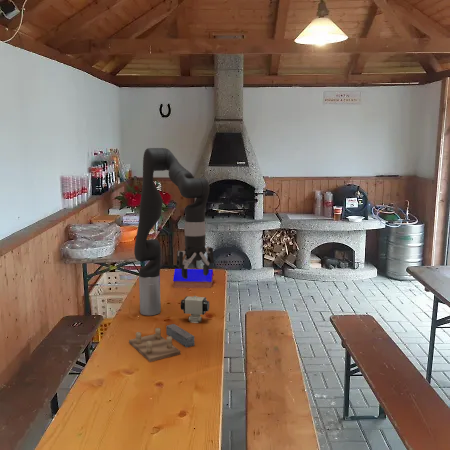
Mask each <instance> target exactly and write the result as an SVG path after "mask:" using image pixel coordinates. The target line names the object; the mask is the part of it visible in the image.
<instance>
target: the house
mask: <svg viewBox="0 0 450 450" xmlns="http://www.w3.org/2000/svg"><path fill="white" fill-rule="evenodd" d="M186 269H187V279H184V278H183V277H182V268H174V272H173V278H172V281H173V288H177V289H178V288H179V289H181V288H182V289H183V288H185V289H187V288H188V289H212V286H213V283H214V275H215V274H214V270H213V269H211V268H209V273H208V275H204V274H203V268H200V269H199V268H186Z"/></svg>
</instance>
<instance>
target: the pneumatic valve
mask: <svg viewBox="0 0 450 450" xmlns="http://www.w3.org/2000/svg"><path fill="white" fill-rule="evenodd" d="M180 310H182V311H183V314H186V315H188V314H189V316H188V321H189V322H190V323H191V324H192V323H193V324H199V323H202V320H203V318H202V317H203V316H205V314H206V313H207V312H209V311H210V301H209V300H207V297H205V296H202V297H201V296H197V295H193V296H185V297H184V298H183V299H181V300H180ZM201 315H202V316H201Z"/></svg>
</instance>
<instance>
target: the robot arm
mask: <svg viewBox="0 0 450 450" xmlns="http://www.w3.org/2000/svg"><path fill="white" fill-rule="evenodd" d="M142 158H143V160H142V187H141V194H140V195H141V196H140V204H139V216H138V225H137V232H136V237H135V241H134V249H133V250H134V257H135V259H136V261H138V262H148V261H149V262H148V263H146V264H145V265H144V266H142V267H141V268H140V269H138V283H139V284H138V286H139V314H141V315H142V316H155V315H159V314H160V313H161V312H162V309H161V306H162V305H161V262H162V260H161V258H162V250H161V248H162V247H161V243H160V241H159V240H158V239H156V238H155V239H154V238H153V239H152V238H151V239H150V238H149V239H148V237H149V234H150V232H151V230H152V229H153V228H154V226H155V225H156V224H157V223H158V222H159V220H160V218H161V216H162V212H163V211H162V210H163V198H162V195H161V193H160V191H159V190H158V188H157V186H156V184H155V180H154V172H160V171H161V172H163V171H168V177H169V179H170V182H172V183H173V185H175V186H176V187H177V188H178V191H179V193H180V195H181V196H182V197H184V198H185V199H195V201H194V202H192V203H191V204H188V205H186V206H185V209H184V210H185V211H184V212H185V213H184V214H185V215H184V217H185V218H184V220H185V224H184V248H185V249H184V250H177V251H176V262H175V263H176V264H175V265H176V267H177V268H178V269H182V277H183V278H184V279H187V269H188V268H189V265H190V264H191V263H192V262H197V261H198V262H199V261H201V262H202V269H203V274H204V275H208V273H209V269H210V265H211V264H214V248H213V247H211V246H207V247H206V222H205V221H206V219H205V216H206V215H205V214H206V213H205V210H206V207H207V206H206V205H207V202H208V198H209V195H210V190H211V189H210V184H209V181H208V180H207V179H206V178H203V177H196V178H195V177H194V174H192V173H191V172H190V171H189V170H188V169H186V168H185V167H184V165H182V164H181V163H180V162H179V160H178V159H177V157H176V156H175V155H174V153H173V152H172V151H171V150H170V149H168V148H166V147H147V148H146V149H145V150H144V153H143V157H142ZM205 254H206V256H207V257H206V256H205Z"/></svg>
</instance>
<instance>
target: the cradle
mask: <svg viewBox="0 0 450 450" xmlns="http://www.w3.org/2000/svg"><path fill="white" fill-rule="evenodd" d="M154 331H155V333H154V334H150V335H149V334H148V335H145V336H142V332H140V331H137V332H135V338H132V339H128V343H129V345H131V346H132V348H134V349H135V350H136V351H137V352H139V353H140V354H141V355H142V356H143V357H144V358H145V359H146V360H147V361H148V362H150V363H151V362H155V361H159V360H163V359H167V358H170V357H171V358H172V357H175V356H179V355H181V350H180V349H179V348H178V347H176V346H174V345H173V338H172V337H171V336H168V335H167V336H166V339H165V337H163V336H162V335H161V333H162V332H161V328H160V327H155V328H154Z"/></svg>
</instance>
